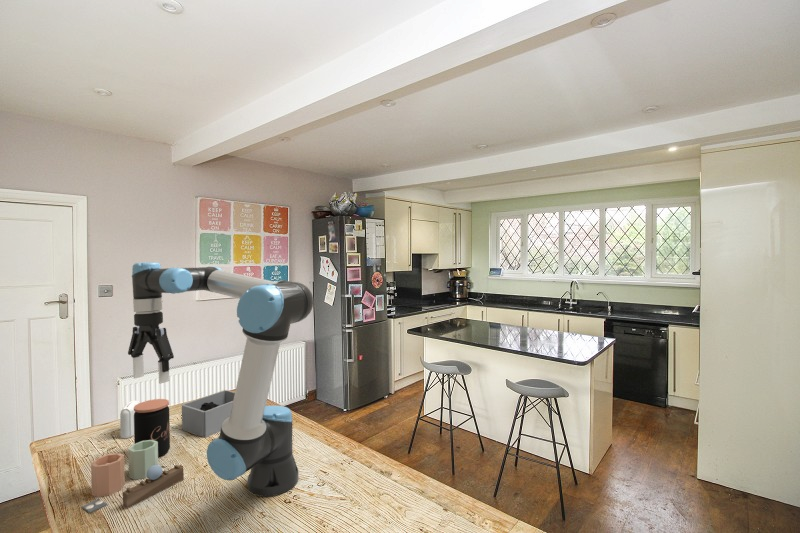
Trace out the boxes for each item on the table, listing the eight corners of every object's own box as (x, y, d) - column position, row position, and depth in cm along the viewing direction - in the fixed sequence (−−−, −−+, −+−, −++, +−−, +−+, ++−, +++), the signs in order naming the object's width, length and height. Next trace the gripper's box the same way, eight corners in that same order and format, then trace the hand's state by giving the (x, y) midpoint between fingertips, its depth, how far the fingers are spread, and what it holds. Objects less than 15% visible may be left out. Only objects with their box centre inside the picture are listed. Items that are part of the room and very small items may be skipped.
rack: (183, 479, 121) (183, 465, 121) (127, 508, 107) (126, 492, 107) (179, 477, 122) (178, 463, 122) (122, 506, 108) (122, 489, 108)
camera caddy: (249, 418, 167) (248, 395, 167) (204, 437, 149) (204, 412, 149) (225, 411, 175) (225, 389, 174) (181, 429, 157) (180, 404, 157)
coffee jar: (153, 463, 131) (152, 411, 130) (126, 460, 133) (125, 408, 132) (177, 448, 141) (176, 399, 141) (152, 445, 143) (151, 397, 143)
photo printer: (131, 428, 158) (130, 398, 158) (142, 427, 159) (142, 397, 159) (118, 439, 148) (118, 407, 148) (131, 438, 149) (130, 406, 149)
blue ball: (165, 477, 115) (165, 464, 115) (151, 484, 112) (151, 470, 112) (157, 473, 117) (157, 460, 117) (143, 480, 114) (143, 467, 114)
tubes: (170, 474, 124) (169, 446, 124) (90, 513, 105) (89, 481, 105) (149, 464, 130) (149, 438, 130) (70, 499, 111) (69, 469, 111)
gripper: (184, 311, 117) (187, 380, 118) (138, 309, 129) (141, 372, 129) (160, 315, 111) (162, 388, 111) (113, 312, 122) (116, 378, 123)
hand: (151, 379), depth 120 cm, fingers open, 13 cm apart
